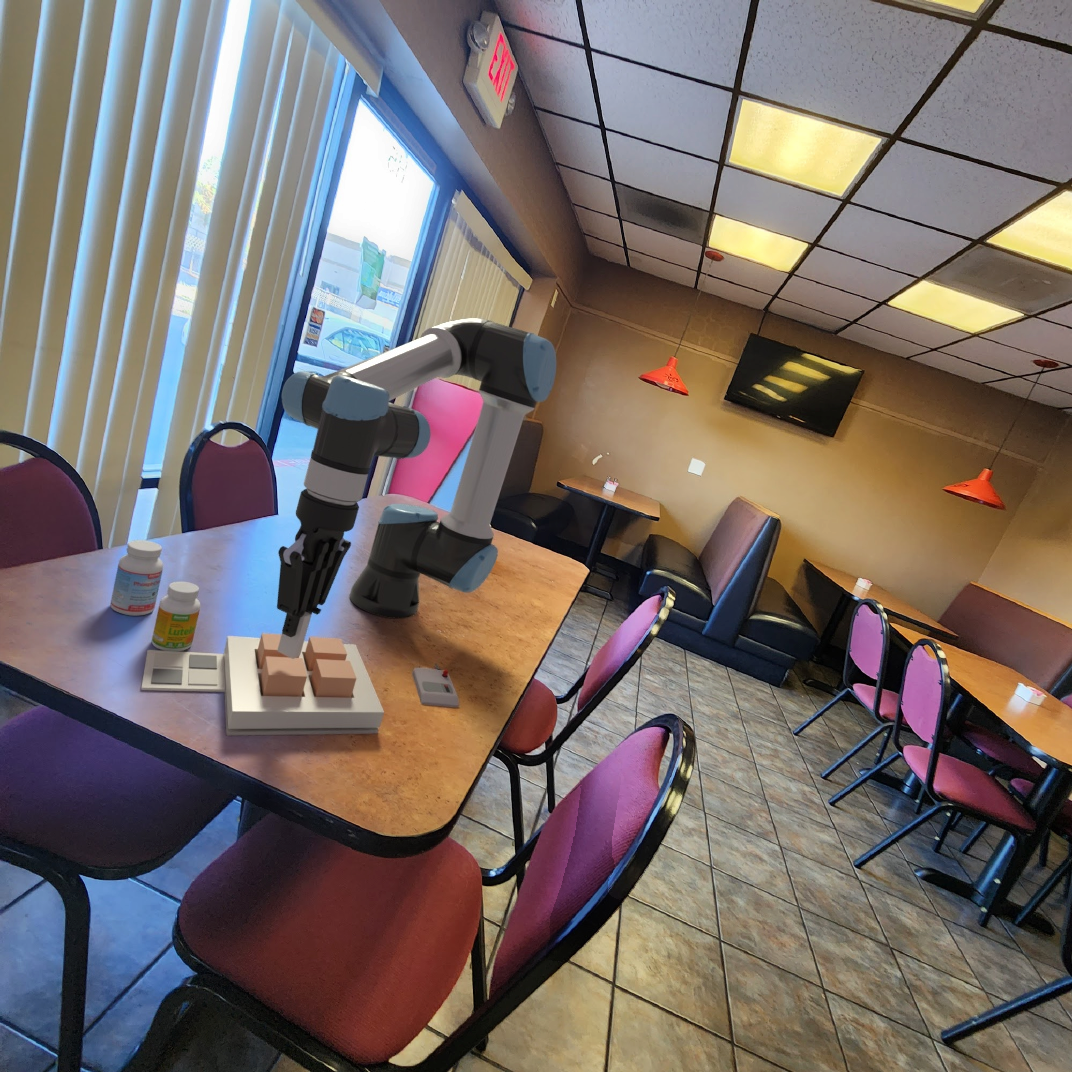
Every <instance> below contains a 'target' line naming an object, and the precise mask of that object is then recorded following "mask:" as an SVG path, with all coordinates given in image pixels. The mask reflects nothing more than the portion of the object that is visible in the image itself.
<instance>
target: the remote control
mask: <svg viewBox="0 0 1072 1072" xmlns="http://www.w3.org/2000/svg"><path fill="white" fill-rule="evenodd" d="M434 666H435V668H428V667H421V665H418V667H414V668H413V670H412V678H413V681H414V685H415V688H416V691H417V694H418V699H419V702H420V705H426V706H435V707H444V708H445V707H447V708H455V707H458V708H459V707H460V702H459V701H460V700H459V696H458V693H457V691H456V689H455V687H454V684H453V682H452V679H451V677H450V674H449V670H448V669H444V670H442V669H441V668H440V667H439V666H438V664H437V663H436V662H435V663H434Z"/></svg>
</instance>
